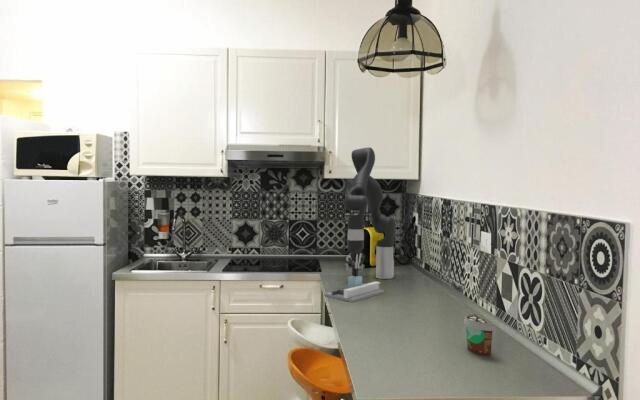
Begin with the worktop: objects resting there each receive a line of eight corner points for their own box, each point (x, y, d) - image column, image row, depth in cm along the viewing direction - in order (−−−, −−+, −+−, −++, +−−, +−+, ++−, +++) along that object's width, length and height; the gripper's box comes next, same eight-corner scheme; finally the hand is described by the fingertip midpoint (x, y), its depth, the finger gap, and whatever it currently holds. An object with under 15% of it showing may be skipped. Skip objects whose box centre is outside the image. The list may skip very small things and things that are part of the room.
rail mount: (356, 287, 230) (357, 278, 229) (384, 292, 219) (384, 282, 219) (324, 296, 212) (324, 285, 211) (352, 302, 201) (352, 291, 201)
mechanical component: (363, 284, 237) (364, 264, 237) (344, 283, 239) (344, 263, 239) (364, 283, 240) (364, 263, 239) (344, 282, 242) (345, 263, 242)
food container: (457, 343, 150) (457, 312, 150) (475, 343, 150) (476, 312, 150) (472, 357, 138) (473, 324, 137) (493, 357, 138) (493, 324, 138)
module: (354, 290, 219) (354, 274, 218) (362, 291, 216) (362, 276, 215) (347, 291, 215) (347, 276, 215) (355, 293, 212) (355, 277, 212)
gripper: (357, 237, 222) (357, 273, 222) (340, 239, 212) (339, 277, 213) (370, 238, 217) (370, 275, 217) (353, 240, 207) (352, 279, 208)
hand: (355, 276), depth 215 cm, fingers closed
